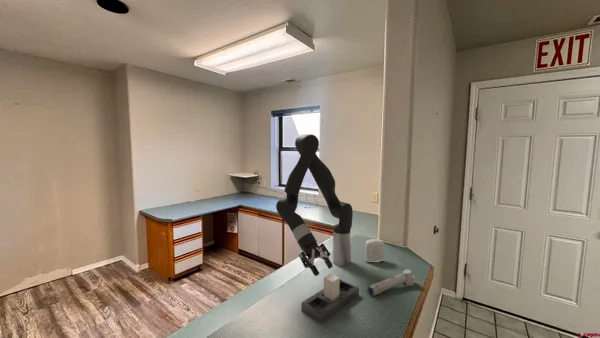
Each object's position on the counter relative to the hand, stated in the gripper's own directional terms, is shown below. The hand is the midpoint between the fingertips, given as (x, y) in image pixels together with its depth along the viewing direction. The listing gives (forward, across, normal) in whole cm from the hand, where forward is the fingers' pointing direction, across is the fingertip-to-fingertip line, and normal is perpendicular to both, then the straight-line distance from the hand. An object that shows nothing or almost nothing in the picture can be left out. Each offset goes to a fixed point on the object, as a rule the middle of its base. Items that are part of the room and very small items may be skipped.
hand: (324, 271), depth 96 cm
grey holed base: (+11, 0, +5) cm, 12 cm away
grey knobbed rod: (+20, +26, -3) cm, 33 cm away
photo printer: (+7, +46, +10) cm, 47 cm away
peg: (+11, 0, +5) cm, 12 cm away
